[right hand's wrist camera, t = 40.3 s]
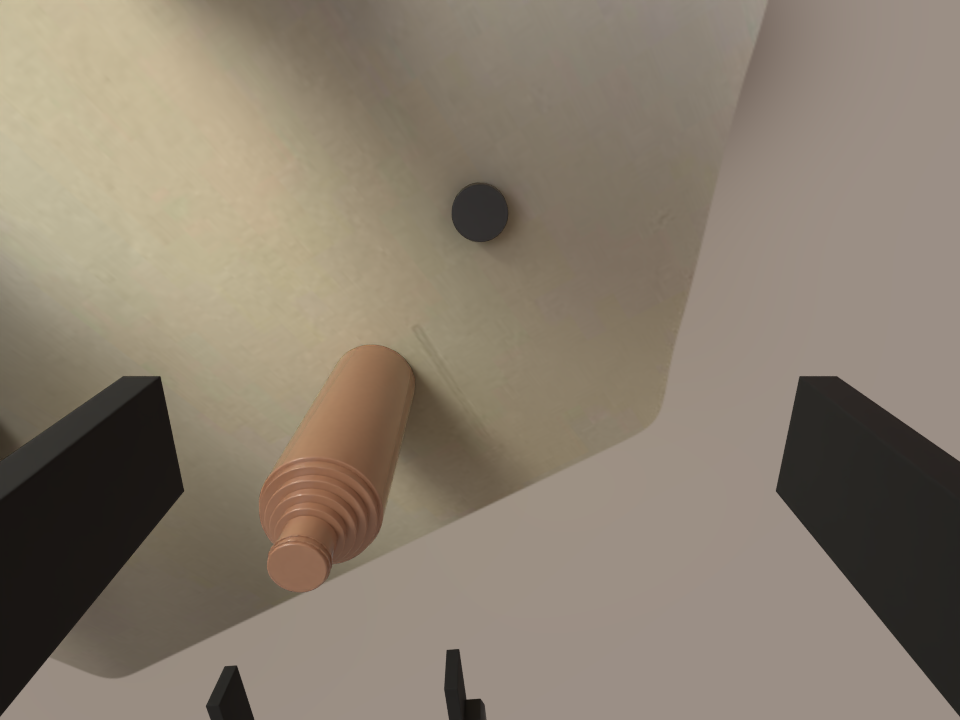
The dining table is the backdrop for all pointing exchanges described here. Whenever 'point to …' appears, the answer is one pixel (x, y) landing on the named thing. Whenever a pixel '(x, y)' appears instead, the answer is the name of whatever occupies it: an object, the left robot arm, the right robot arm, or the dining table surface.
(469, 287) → the dining table surface
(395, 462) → the bottle
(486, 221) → the cap
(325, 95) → the dining table surface
